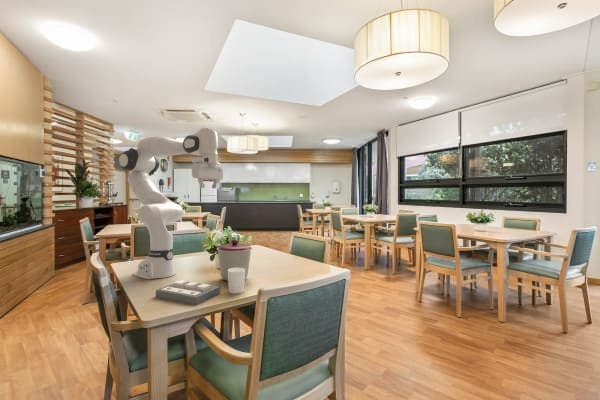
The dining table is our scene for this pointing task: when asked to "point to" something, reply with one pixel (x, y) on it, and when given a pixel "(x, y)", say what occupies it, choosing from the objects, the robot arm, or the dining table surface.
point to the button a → (180, 283)
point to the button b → (203, 287)
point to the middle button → (191, 285)
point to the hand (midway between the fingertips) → (208, 188)
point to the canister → (233, 257)
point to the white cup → (236, 280)
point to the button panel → (187, 294)
